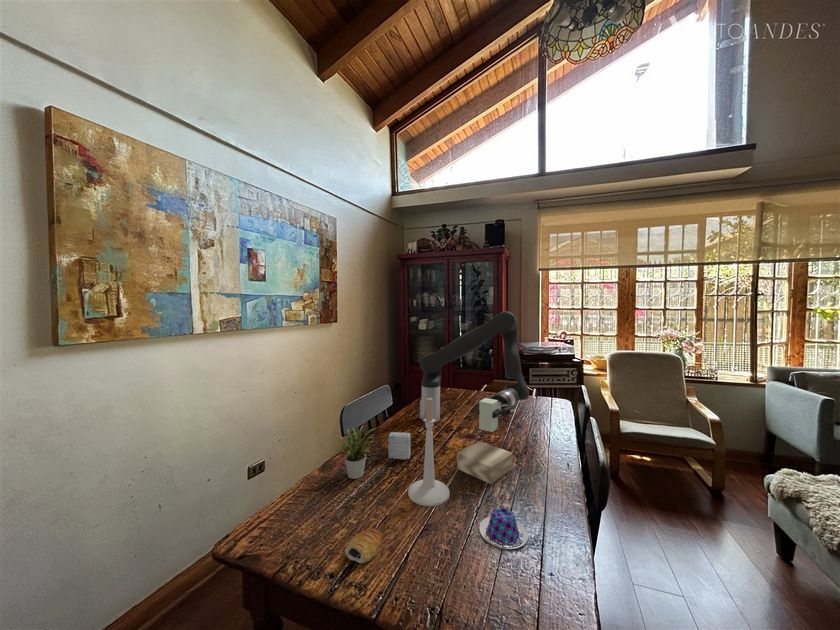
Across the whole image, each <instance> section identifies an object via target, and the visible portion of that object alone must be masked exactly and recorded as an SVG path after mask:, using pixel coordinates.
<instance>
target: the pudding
mask: <svg viewBox="0 0 840 630" xmlns="http://www.w3.org/2000/svg"><path fill="white" fill-rule="evenodd" d="M478 527H479V528H478V529H479V534H480V535H481V537H483V539H484V540H485V541H486V542H488V543H489V544H491V545H492V546H495V547H496V548H497V547H498V548H499V549H504V550H505V549H506V550H513V549H514V550H515V549H519V548H520V547H523V546H525V544H526V543H527V541H528V539H529V538H528V537H529V536H528V531H527V530H526V527H524V526H523V525H522V524H521V523H520V522H519V521H517V518H516V516H515V514H514V513H513V512H512V511H510V509H508V508H504V507H498V508H494V509H492V512H491V514H490V516H487V517H485V518H483V520H481V522H480V523H479V526H478ZM486 528H487V529H486ZM518 529H520V530H521V531H522V533H523V534H524V535H523V536H524V540H523V541H524V542H523V544H521V545H520V546H518V547H513V548H512V547H511V548H503V547H500V546H497V545H495V544H493V543H492V542H491V541H489V539H487V537H486V536H487V535H489V537H491V538H492V539H494V540H493V541H495V540H497V541H498V542H501V543H506V542H508V543H514V542H515V543H516V541H515V540H517V539H520V538H519V537H520V533H519V531H518ZM486 531H487V535H486ZM488 533H489V534H488ZM491 538H490V539H491ZM497 541H496V542H497ZM517 541H518V540H517ZM498 542H497V543H498ZM515 543H514V544H515Z"/></svg>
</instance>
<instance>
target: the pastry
mask: <svg viewBox="0 0 840 630" xmlns="http://www.w3.org/2000/svg"><path fill="white" fill-rule="evenodd" d="M382 538H383V535H382V533H381V531H380V530H378V529H377V528H369V529H365V530H364V531H360V532H359V533H356V534H355V536H354V537H352V538H351V539H349V541H348V545H347V547H346V548H345V549H344V554H345V556H346V557H347V559H349V560H351V561H354V562H357V563H358V564H365V563H368V562H369V561H371V560H372V559H373V558H374V557H375V556H376V554H377V552H378V550H379V549H380V546H381V543H382Z"/></svg>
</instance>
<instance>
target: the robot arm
mask: <svg viewBox="0 0 840 630" xmlns="http://www.w3.org/2000/svg"><path fill="white" fill-rule="evenodd" d="M499 334H501V336H502V340H503V365H504V371H505V372H504V373H505V377H506V378H507V379H509V380H515V381H516V383H512V384H507V385H504V387H503V390H501V391H499V392H497V393H495V394H494V395H493V396H491V398H490V399H494V400H498V410H497V409H496V410H495V411H493V412H492V418H496V417H498V418H499V417H501V416H502V417H504V418H505V417H509V416H511V415H513V414H514V412H515V407H514V406H515V405H516V404H517V403H518V402H519V401H526V400H527V399H528V398H529V396H530V391H529V387H528V385H527V383H526V381H525V378H524V375H523V373H522V365H521V359H520V353H519V347H518V346H519V345H518V344H519V343H518V319H517V318H516V317H515V315H514V314H513V313H512V312H510V311H502V312H500V313H498V314H496V315H495V316H494V317H492V318H490V319H489V320H487V322H485V323H482V325H479V326H477V327H476V328H473V329H471V330H469V331H467V332H465V333H464V334H462V335H460V336H459V337H456V338H455V339H454V340H452V341H450V342H449V343H448V344H446V345H445V346H444V347H442V348H440V349H438V350H437V351H434V352H430V353H428V354H425V355H423V357H422V358H421V360H420V361H419V367H420V369H421V371H422V372H423V376H422V380H421V399H420V400H419V420H422V422H424V419H426V399H427V398H429V397H430V398H432V399H433V419H435V422H434V423H436V422H439V421H440V419H441V417H440V416H441V380H442V367H443V366H445V365H446V364H448V363H450V362H453V361H455V360H458V359H460V358H462V357H465V356H467V355H469V354H471V353H473V352H474V351H477V350H478V349H479V348H481V347H482V346H483V345H484V344H485V343H486V342H487V341H488V340H490V339H491V338H493V337H494V336H497V335H499ZM481 400H482V399H479V400H478V402H477V403H476V414H477V415H478V416H479V401H481Z"/></svg>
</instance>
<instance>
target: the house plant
mask: <svg viewBox="0 0 840 630" xmlns="http://www.w3.org/2000/svg"><path fill="white" fill-rule="evenodd" d="M351 427H352V431H350V429H349V428H348V427H346V431H347V435H348V439H349V440H348V442H347V441H346V440H345V439H344V438H343V437H341V436H340V435H337V434H336V435H334V436H336V437H338V438H340V439H341V440H342V441H343V442H344V443H345V444H346V445H347V447H346V446H345V445H343V444H341V443H340V444H339V445H340V446H341V447H342V449H338V450H337V452H340V453H343V454H346V455H345V457H344V461H345V466H346V467H345V468H346V472H347V477H348V478H349V479H351V480H352V479H353V480H354V479H355V480H356V479H360V478H362V477H363V475H364V472H365V467H366V459H367V456H368V455H367V453H368V454H369V453H370V448H368V446H369V445H371V443H373V442H374V440H372V441H369V442H368V440H369V439H374V438H375V437H374V436H375V434H371V435H369V434H370V433H371V432H372V431H373V430H376V429H377V428H371V429H370V430H367V432H366V433H365V434H364V435H363V431H364V430H363V429H364V428H363V427H364V425H361V427H360V429H359V432H358V434H357V431H356V429H355V427H354V426H353V425H351ZM352 432H353V433H352ZM353 435H354V436H353ZM368 435H369V436H368ZM362 436H363V437H362ZM367 436H368V437H367ZM365 438H366V439H365Z"/></svg>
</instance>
